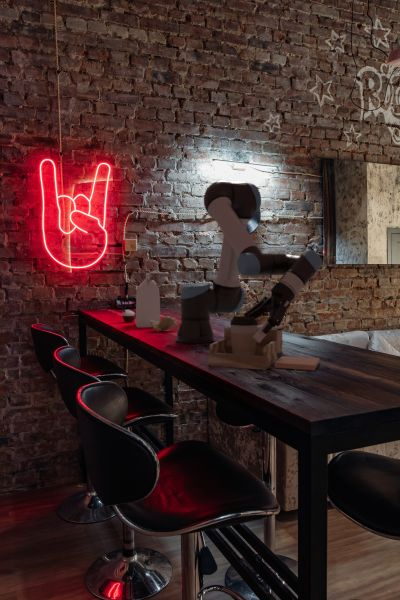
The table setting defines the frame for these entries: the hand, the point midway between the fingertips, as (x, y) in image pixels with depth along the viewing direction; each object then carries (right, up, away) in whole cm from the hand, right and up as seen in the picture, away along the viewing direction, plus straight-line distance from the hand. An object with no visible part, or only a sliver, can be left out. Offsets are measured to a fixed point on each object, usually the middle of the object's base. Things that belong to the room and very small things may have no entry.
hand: (245, 337), depth 171 cm
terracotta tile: (+16, -8, -3) cm, 18 cm away
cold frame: (0, -8, +1) cm, 8 cm away
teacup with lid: (+10, -7, +23) cm, 26 cm away
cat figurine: (-31, -3, +75) cm, 82 cm away
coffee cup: (0, -8, +1) cm, 8 cm away
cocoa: (-52, 0, +111) cm, 123 cm away
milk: (-41, -1, +96) cm, 105 cm away
